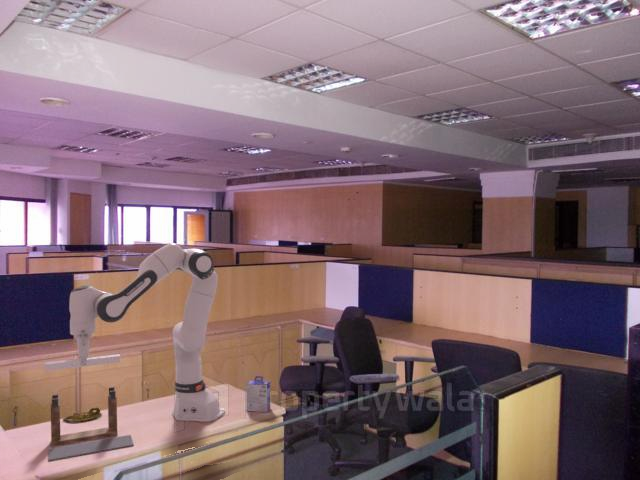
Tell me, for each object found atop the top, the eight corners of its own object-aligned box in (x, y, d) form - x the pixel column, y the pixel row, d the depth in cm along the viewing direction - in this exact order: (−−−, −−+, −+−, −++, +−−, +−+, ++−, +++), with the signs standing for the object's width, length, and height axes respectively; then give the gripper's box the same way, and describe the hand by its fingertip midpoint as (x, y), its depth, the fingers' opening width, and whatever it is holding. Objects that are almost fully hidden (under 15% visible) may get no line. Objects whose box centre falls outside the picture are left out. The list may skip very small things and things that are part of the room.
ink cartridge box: (271, 408, 231) (270, 375, 231) (267, 412, 226) (267, 379, 225) (249, 406, 233) (249, 375, 232) (246, 411, 228) (245, 378, 227)
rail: (119, 360, 206) (119, 354, 206) (120, 362, 204) (119, 355, 203) (45, 369, 195) (45, 362, 195) (45, 371, 192) (45, 364, 192)
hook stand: (116, 429, 208) (115, 386, 207) (117, 435, 202) (116, 390, 202) (51, 440, 198) (50, 395, 197) (51, 446, 192) (50, 400, 192)
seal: (62, 428, 213) (102, 422, 219) (62, 417, 212) (101, 411, 218) (63, 418, 222) (101, 412, 228) (63, 407, 221) (101, 402, 227)
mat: (130, 435, 202) (130, 434, 202) (133, 445, 193) (133, 444, 193) (49, 450, 189) (49, 448, 189) (48, 461, 180) (48, 459, 180)
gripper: (92, 332, 191) (93, 370, 191) (90, 323, 209) (91, 357, 210) (73, 334, 188) (74, 372, 189) (73, 324, 206) (74, 359, 207)
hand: (83, 364), depth 199 cm, fingers closed on rail, 3 cm apart
